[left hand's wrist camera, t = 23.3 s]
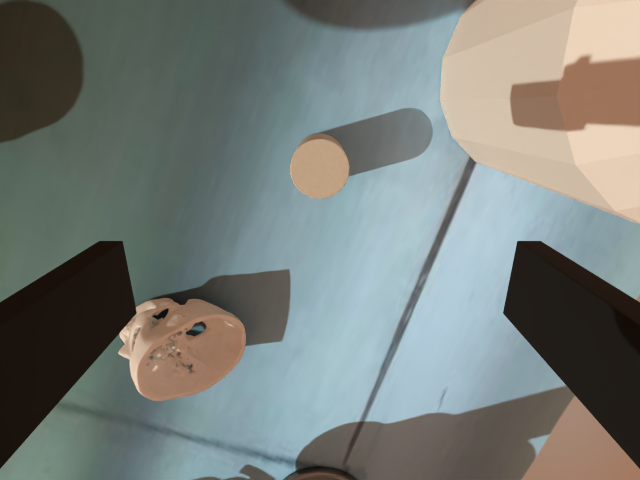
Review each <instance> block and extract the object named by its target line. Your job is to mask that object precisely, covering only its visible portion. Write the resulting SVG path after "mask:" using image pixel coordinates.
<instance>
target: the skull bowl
mask: <svg viewBox="0 0 640 480" xmlns="http://www.w3.org/2000/svg"><path fill="white" fill-rule="evenodd" d="M167 308H168V310H169V311H168V314H167V315H166V317H165V318H164V319H163V318H160V319H159V320H157V319H155V318H153V317H152V316H154V315H156V316H157V315H159V313H161V312H162V311H164V310H166V309H167ZM136 312H137V314H136V315H135V316H134V317H133V318H132V319H131V320H130V322H129V323H128V324H127V325H126V326H125V327H124V328H123V330H122V331H121V332H120V338H121V339H122V341H123V342H124V343H125V345H124V346H123V347H122V348H121V349H120V350H119V352H118V353H119V354H120V355H121V356H123V357H125V358H128V359H129V360H130V371H131V377H132V379H133V381H134V383H135V386H136V388H137V390H138V391H139V393H140V394H142V395H143V396H145V397H146V398H148V399H151V400H154V401H162V400H169V399H174V398H180V397H185V396H189V395H193V394H196V393H199V392H202V391H204V390H206V389H208V388H210V387H211V386H213V385H214V384H216V383H217V382H219V381H220V380H221V379H222V378H223V377H225V376H226V375H227V374H228V373H229V372H230V371H231V370H232V369H233V368H234V367H235V366H236V364H237V363H238V362H239V361H240V359H241V357H242V355H243V353H244V350H245V344H246V334H245V328H244V326H243V324H242V323H241V321H240V320H239V319H238V318H237V317H236V316H235V315H233V314H232V313H229V312H227V311H225V310H223V309H221V308H219V307H217V306H215V305H213V304H210V303H208V302H206V301H203V300H200V299H189V300H188V301H187V302H186V304H185V305H179V304H178V303H176V302H174V301H173V300H172V299H170V298H161V299H154V300H149V301H146V302H144V303H142V304H141V305H139V306H137V307H136ZM201 321H202V322H204V324H205V325H206V329H205V330H204V331H203V332H202V333H200V334H199V335H196V336H195V337H194V336H192V335H187V334H186V332H187V331H189V330H190V329H191V328H192V327H193V325H194V324H195V323H198V322H201ZM151 356H152V358H153V359H152V358H151ZM154 357H155V358H154ZM187 364H189V365H187ZM190 367H191V368H190ZM188 369H189V370H188Z"/></svg>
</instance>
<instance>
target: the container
mask: <svg viewBox="0 0 640 480" xmlns="http://www.w3.org/2000/svg"><path fill="white" fill-rule="evenodd" d="M440 103H441V106H442V109H443V112H444V115H445V118H446V121H447V124H448V127H449V130H450V133H451V136H452V138H453V139H454V140H455V141H456V142H457V143H458V144H459V145H460V146H461V147H462V148H463V149H464V150H465V151H466V152H467V153H468V155H469V156H470V157H471V158H472V159H473V160H474V161H475V162H477V163H480V164H482V165H485V166H488V167H490V168H493V169H495V170H498V171H500V172H503V173H506V174H508V175H511V176H514V177H516V178H519V179H522V180H524V181H527V182H529V183H532V184H535V185H537V186H540V187H543V188H545V189H548V190H551V191H553V192H556V193H559V194H561V195H564V196H566V197H569V198H572V199H574V200H577V201H580V202H582V203H585V204H588V205H590V206H593V207H596V208H598V209H601V210H603V211H606V212H609V213H611V214H614V215H617V216H619V217H622V218H625V219H627V220H630V221H633V222H635V223H638V224H640V0H475V1H474V2H473V3H472V4H471V5H470V6H469V8H468V9H467V10H466V11H465V12H464V13H463V14H462V15H461V16H460V19H459V21H458V23H457V26H456V28H455V30H454V33H453V35H452V37H451V40H450V42H449V44H448V47H447V49H446V51H445V54H444V56H443V58H442V72H441V89H440Z"/></svg>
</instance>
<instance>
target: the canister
mask: <svg viewBox="0 0 640 480" xmlns="http://www.w3.org/2000/svg"><path fill="white" fill-rule="evenodd" d="M349 168H350V167H349V161H348V158H347V156H346V154H345V152H344V150H343V148H342V146H341V145H340V143H339V142H338V141H337V140H336V139H335V138H333V137H332V136H330V135H327V134H322V133H317V134H312V135H310V136H308V137H306V138H305V139H304V140H303V141H302V142H301V143H300V144H299V146H298V147H297V149H296V151H295V153H294V155H293V157H292V160H291V164H290V173H291V177H292V180H293V182H294V184H295V186H296V187H297V188H298V189H299V190H300V191H301V192H302V193H303V194H305V195H307V196H309V197H312V198H327V197H330V196H333V195H335V194H336V193H338V192H339V191H340V190H341V189H342V188H343V187H344V185H345V184H346V182H347V179H348V176H349Z"/></svg>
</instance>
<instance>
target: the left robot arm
mask: <svg viewBox="0 0 640 480" xmlns="http://www.w3.org/2000/svg"><path fill="white" fill-rule="evenodd" d="M136 314H137V312H136V307H135V302H134V297H133V291H132V286H131V281H130V276H129V271H128V266H127V261H126V256H125V251H124V246H123V241H99V242H97V243H96V244H94V245H92V246H91V247H89V248H88V249H86V250H84V251H83V252H81V253H79V254H78V255H76V256H75V257H73V258H71V259H70V260H68V261H67V262H65V263H63V264H62V265H60V266H58V267H57V268H55V269H54V270H52V271H50V272H49V273H47V274H45V275H44V276H42V277H41V278H39V279H37V280H36V281H34V282H33V283H31V284H29V285H28V286H26V287H24V288H23V289H21V290H20V291H18V292H16V293H15V294H13V295H11V296H10V297H8V298H7V299H5V300H3V301H2V302H0V468H1V467H2V466H3V465H4V464H5V463H6V462H7V460H8V459H9V458H10V457H11V456H12V455H13V454H14V452H15V451H16V450H17V449H18V448H19V447H20V446H21V444H22V443H23V442H24V441H25V440H26V439H27V438H28V437H29V435H30V434H31V433H32V432H33V431H34V430H35V429H36V427H37V426H38V425H39V424H40V423H41V422H42V421H43V419H44V418H45V417H46V416H47V415H48V414H49V413H50V411H51V410H52V409H53V408H54V407H55V406H56V405H57V404H58V402H59V401H60V400H61V399H62V398H63V397H64V396H65V394H66V393H67V392H68V391H69V390H70V389H71V388H72V386H73V385H74V384H75V383H76V382H77V381H78V380H79V378H80V377H81V376H82V375H83V374H84V373H85V372H86V371H87V369H88V368H89V367H90V366H91V365H92V364H93V363H94V361H95V360H96V359H97V358H98V357H99V356H100V355H101V353H102V352H103V351H104V350H105V349H106V348H107V347H108V346H109V344H110V343H111V342H112V341H113V340H114V339H115V338H116V336H117V335H118V334H119V333H120V332H121V331H122V330H123V328H124V327H125V326H126V325H127V324H128V323H129V322H130V320H131V319H132V318H133V317H134V316H135V315H136ZM503 314H504V315H505V316H506V317H507V318H508V319H509V320H510V322H511V323H512V324H513V325H514V326H515V327H516V328H517V330H518V331H519V332H520V333H521V334H522V335H523V336H524V338H525V339H526V340H527V341H528V342H529V343H530V344H531V346H532V347H533V348H534V349H535V350H536V351H537V352H538V353H539V355H540V356H541V357H542V358H543V359H544V360H545V361H546V363H547V364H548V365H549V366H550V367H551V368H552V369H553V371H554V372H555V373H556V374H557V375H558V376H559V377H560V378H561V380H562V381H563V382H564V383H565V384H566V385H567V386H568V388H569V389H570V390H571V391H572V392H573V393H574V394H575V396H576V397H577V398H578V399H579V400H580V401H581V402H582V403H583V405H584V406H585V407H586V408H587V409H588V410H589V411H590V413H591V414H592V415H593V416H594V417H595V418H596V419H597V421H598V422H599V423H600V424H601V425H602V426H603V427H604V429H605V430H606V431H607V432H608V433H609V434H610V435H611V437H612V438H613V439H614V440H615V441H616V442H617V443H618V444H619V446H620V447H621V448H622V449H623V450H624V451H625V452H626V454H627V455H628V456H629V457H630V458H631V459H632V460H633V461H634V463H635V464H636V465H637V466H638V467H639V468H640V302H638V301H637V300H635V299H633V298H632V297H630V296H629V295H627V294H625V293H624V292H622V291H620V290H619V289H617V288H616V287H614V286H612V285H611V284H609V283H607V282H606V281H604V280H603V279H601V278H599V277H598V276H596V275H595V274H593V273H591V272H590V271H588V270H586V269H585V268H583V267H582V266H580V265H578V264H577V263H575V262H573V261H572V260H570V259H569V258H567V257H565V256H564V255H562V254H561V253H559V252H557V251H556V250H554V249H552V248H551V247H549V246H548V245H546V244H544V243H543V242H541V241H517V246H516V251H515V256H514V261H513V266H512V271H511V276H510V281H509V286H508V291H507V297H506V302H505V307H504V312H503ZM284 480H356V479H355V478H353V477H352V476H350V475H349V474H347V473H345V472H342V471H339V470H336V469H332V468H323V467H317V468H308V469H303V470H300V471H297V472H295V473H293V474H291V475H289V476H287V477H286V478H285V479H284Z"/></svg>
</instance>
